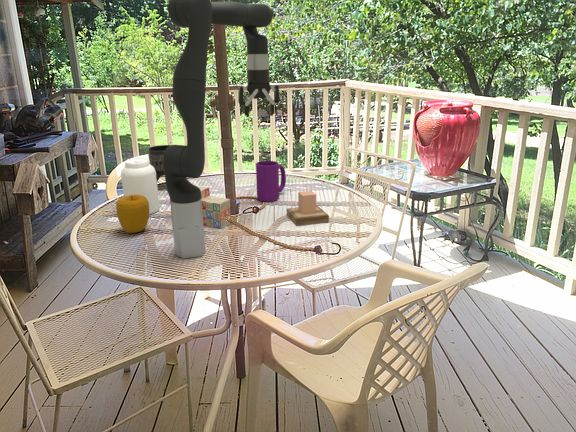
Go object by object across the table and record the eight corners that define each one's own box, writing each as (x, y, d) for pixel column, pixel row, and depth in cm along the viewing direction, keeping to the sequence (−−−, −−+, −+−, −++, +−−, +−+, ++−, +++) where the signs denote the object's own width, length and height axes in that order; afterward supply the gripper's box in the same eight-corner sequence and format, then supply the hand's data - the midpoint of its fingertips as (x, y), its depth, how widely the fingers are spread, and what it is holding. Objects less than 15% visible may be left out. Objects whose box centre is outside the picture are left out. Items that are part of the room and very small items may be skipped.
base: (328, 222, 177) (328, 215, 176) (296, 225, 174) (296, 218, 173) (317, 211, 188) (317, 204, 187) (286, 215, 184) (286, 208, 183)
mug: (252, 199, 202) (250, 163, 197) (276, 190, 214) (275, 156, 209) (269, 203, 197) (268, 167, 192) (293, 194, 208) (293, 159, 203)
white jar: (166, 209, 192) (161, 158, 185) (140, 218, 182) (133, 165, 175) (145, 204, 199) (139, 154, 192) (119, 212, 189) (112, 161, 182)
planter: (158, 182, 227) (154, 144, 221) (185, 183, 226) (182, 145, 220) (147, 191, 215) (142, 150, 209) (175, 192, 214) (171, 151, 208)
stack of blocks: (231, 223, 177) (230, 190, 173) (220, 229, 172) (218, 195, 168) (186, 214, 187) (183, 182, 183) (174, 219, 182) (171, 186, 178)
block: (315, 213, 178) (316, 194, 176) (302, 214, 177) (302, 195, 174) (311, 208, 183) (311, 190, 180) (298, 210, 181) (298, 191, 179)
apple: (142, 238, 165) (138, 201, 160) (112, 236, 167) (107, 199, 162) (157, 226, 175) (153, 191, 171) (128, 224, 177) (124, 190, 172)
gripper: (239, 69, 164) (241, 118, 169) (281, 68, 167) (282, 116, 173) (235, 68, 170) (237, 115, 176) (275, 66, 174) (276, 113, 180)
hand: (259, 116), depth 174 cm, fingers open, 8 cm apart
